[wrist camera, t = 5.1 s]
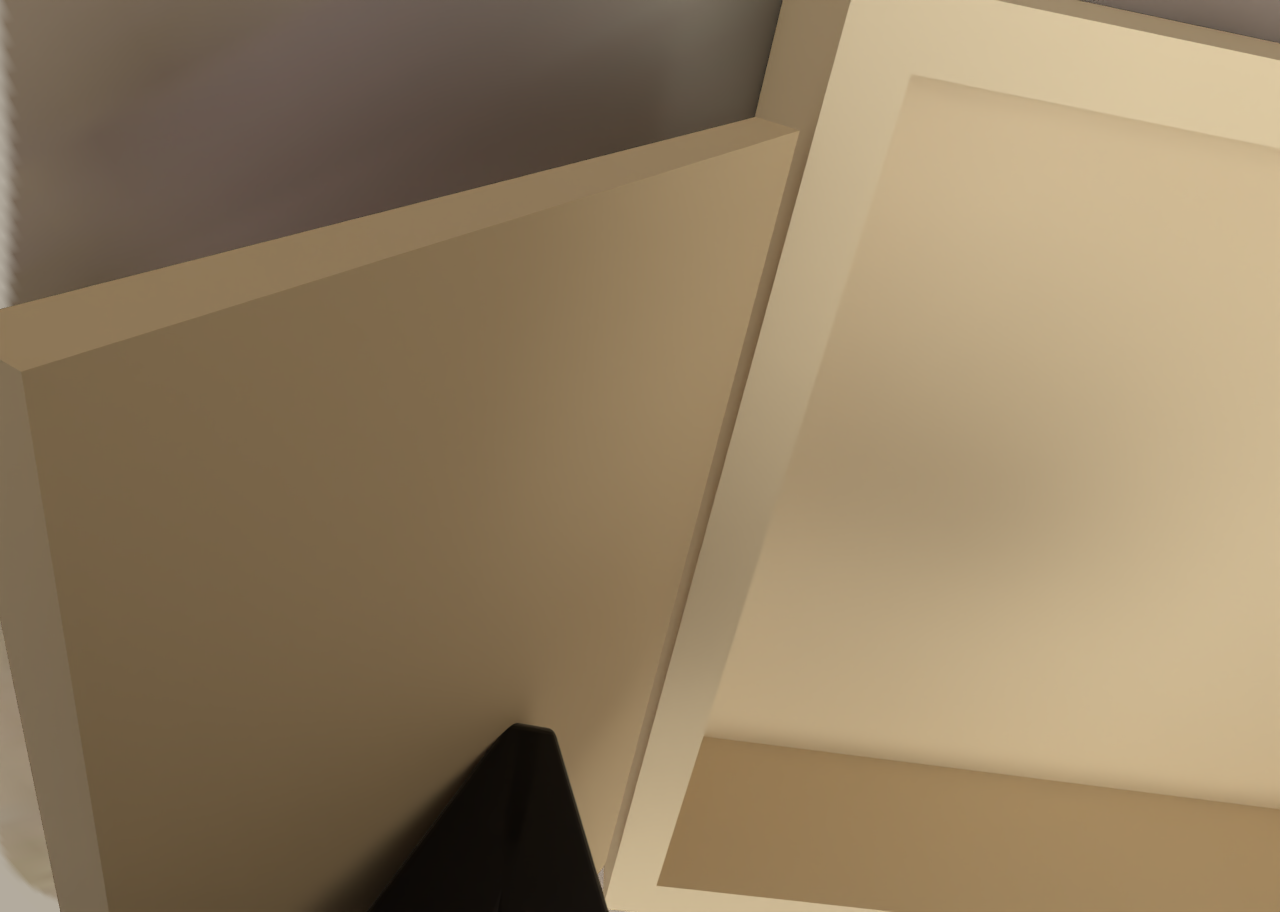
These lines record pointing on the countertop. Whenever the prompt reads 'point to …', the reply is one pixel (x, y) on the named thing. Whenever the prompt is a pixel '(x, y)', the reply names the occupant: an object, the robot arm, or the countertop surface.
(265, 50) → the countertop surface
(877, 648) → the cream shallow tray
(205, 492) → the flap
